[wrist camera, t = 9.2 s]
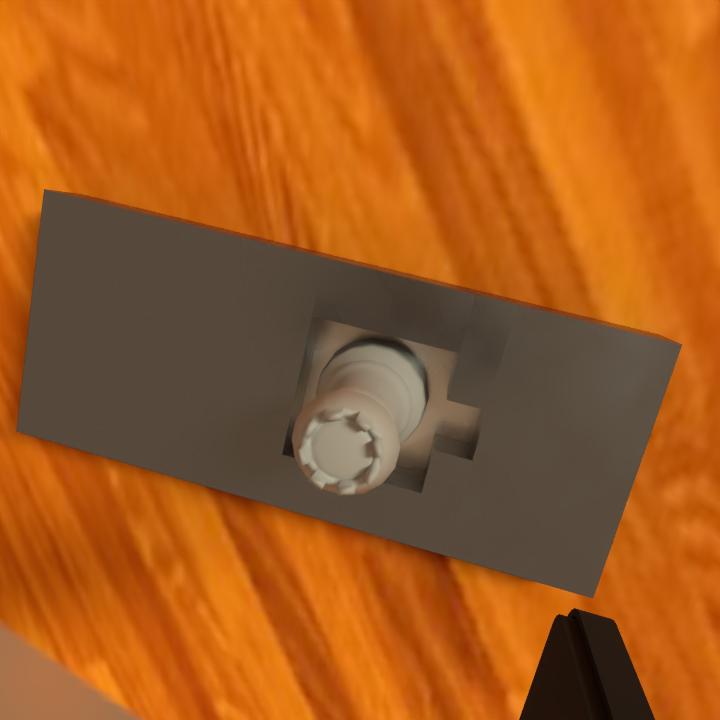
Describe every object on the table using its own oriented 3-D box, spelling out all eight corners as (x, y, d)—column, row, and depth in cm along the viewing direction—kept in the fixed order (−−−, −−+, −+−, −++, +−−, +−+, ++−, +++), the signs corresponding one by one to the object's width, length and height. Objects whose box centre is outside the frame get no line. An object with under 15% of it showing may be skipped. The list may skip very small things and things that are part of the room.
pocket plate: (81, 194, 26) (44, 189, 23) (659, 334, 23) (682, 344, 21) (53, 416, 28) (16, 431, 26) (580, 565, 25) (592, 598, 23)
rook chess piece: (452, 396, 25) (452, 464, 17) (370, 463, 26) (334, 557, 18) (378, 313, 24) (343, 343, 17) (299, 384, 26) (231, 443, 18)
